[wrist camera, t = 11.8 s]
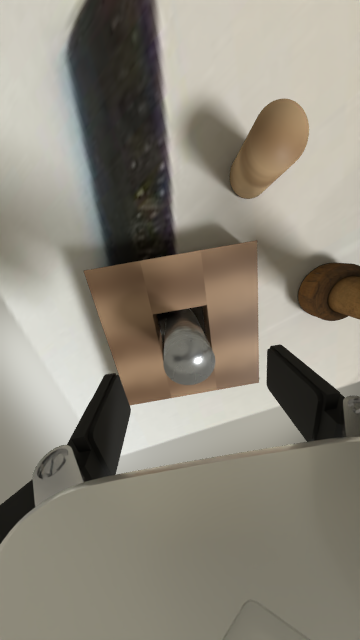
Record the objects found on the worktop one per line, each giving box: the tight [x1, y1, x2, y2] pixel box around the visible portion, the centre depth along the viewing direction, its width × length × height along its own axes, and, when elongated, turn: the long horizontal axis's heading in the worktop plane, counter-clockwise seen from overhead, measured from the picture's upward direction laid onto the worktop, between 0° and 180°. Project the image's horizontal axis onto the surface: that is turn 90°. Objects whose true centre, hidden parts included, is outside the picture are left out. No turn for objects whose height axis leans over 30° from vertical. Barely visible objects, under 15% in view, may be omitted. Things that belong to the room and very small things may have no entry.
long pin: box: [163, 309, 215, 385], centre depth 18 cm, size 4×4×9 cm
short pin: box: [230, 99, 309, 199], centre depth 15 cm, size 4×4×5 cm
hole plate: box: [84, 240, 259, 405], centre depth 20 cm, size 16×16×4 cm
